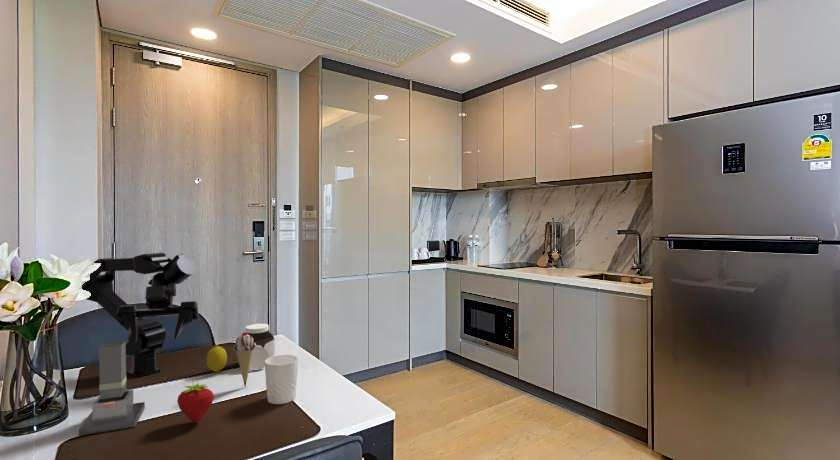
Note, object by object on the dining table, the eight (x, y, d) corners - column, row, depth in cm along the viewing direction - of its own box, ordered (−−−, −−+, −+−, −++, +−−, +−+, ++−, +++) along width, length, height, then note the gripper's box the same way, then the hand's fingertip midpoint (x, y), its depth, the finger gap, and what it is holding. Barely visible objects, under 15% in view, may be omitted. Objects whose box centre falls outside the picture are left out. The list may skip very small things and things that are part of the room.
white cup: (304, 395, 111) (303, 356, 111) (285, 407, 103) (284, 366, 103) (278, 391, 113) (278, 353, 113) (258, 403, 106) (257, 362, 106)
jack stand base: (94, 415, 99) (93, 391, 99) (144, 408, 103) (144, 385, 103) (78, 435, 90) (78, 409, 90) (135, 426, 94) (134, 401, 94)
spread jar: (264, 356, 142) (263, 321, 141) (285, 363, 135) (285, 326, 135) (229, 366, 132) (229, 329, 132) (251, 374, 125) (250, 334, 125)
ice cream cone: (261, 385, 117) (260, 330, 117) (244, 393, 112) (243, 336, 111) (245, 382, 119) (245, 328, 119) (228, 389, 114) (228, 333, 114)
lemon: (219, 376, 124) (218, 349, 123) (202, 375, 125) (202, 347, 124) (231, 370, 129) (231, 343, 129) (215, 368, 130) (214, 342, 130)
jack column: (105, 392, 97) (104, 342, 97) (126, 389, 99) (125, 340, 99) (99, 399, 94) (98, 347, 93) (122, 396, 95) (121, 345, 95)
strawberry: (206, 429, 93) (205, 383, 92) (171, 429, 93) (170, 383, 92) (219, 416, 99) (218, 373, 98) (186, 416, 99) (186, 373, 98)
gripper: (117, 275, 113) (105, 327, 104) (196, 272, 121) (193, 320, 111) (125, 300, 121) (115, 350, 111) (199, 295, 128) (196, 342, 118)
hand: (155, 340), depth 113 cm, fingers open, 9 cm apart
